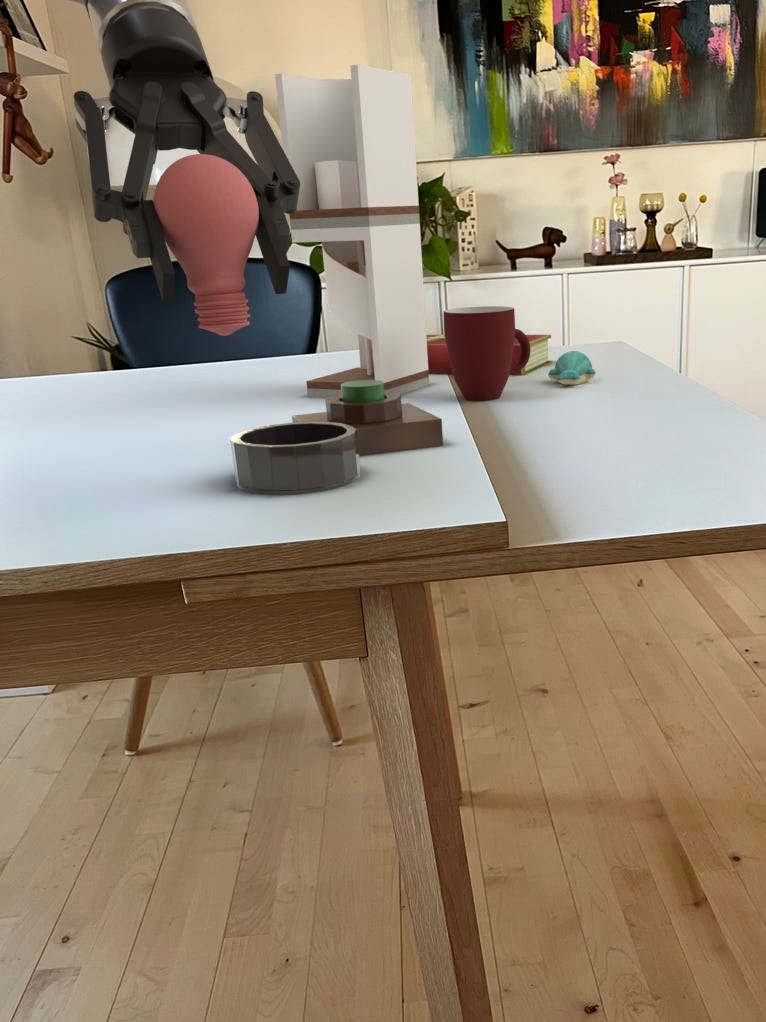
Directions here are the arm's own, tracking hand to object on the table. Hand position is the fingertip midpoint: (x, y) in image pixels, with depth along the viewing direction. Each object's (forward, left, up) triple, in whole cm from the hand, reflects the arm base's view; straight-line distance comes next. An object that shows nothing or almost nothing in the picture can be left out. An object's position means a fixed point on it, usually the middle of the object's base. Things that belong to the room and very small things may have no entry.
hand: (227, 283), depth 72 cm
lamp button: (+14, +20, -12) cm, 28 cm away
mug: (+34, +38, -17) cm, 54 cm away
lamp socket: (+5, +9, -17) cm, 20 cm away
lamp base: (+14, +20, -16) cm, 30 cm away
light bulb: (0, +3, -4) cm, 5 cm away
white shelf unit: (+23, +51, -17) cm, 59 cm away
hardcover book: (+40, +62, -17) cm, 76 cm away
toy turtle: (+46, +41, -17) cm, 64 cm away
